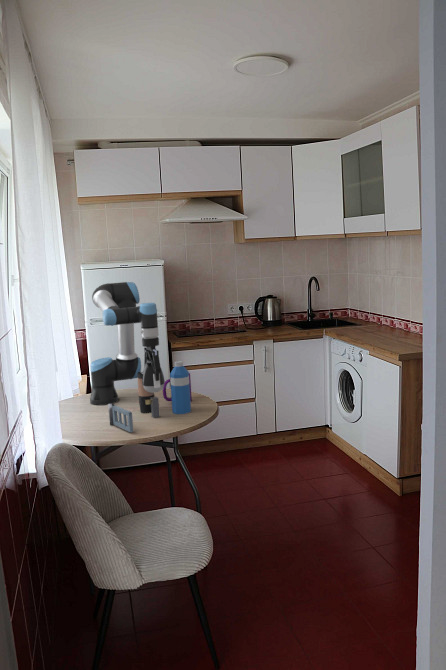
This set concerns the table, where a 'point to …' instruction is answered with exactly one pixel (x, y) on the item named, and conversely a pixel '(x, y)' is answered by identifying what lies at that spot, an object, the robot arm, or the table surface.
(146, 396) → the travel mug
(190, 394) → the mug
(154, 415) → the latch post
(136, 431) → the table surface
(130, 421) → the gate
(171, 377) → the water bottle
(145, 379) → the pump dispenser
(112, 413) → the hinge post
